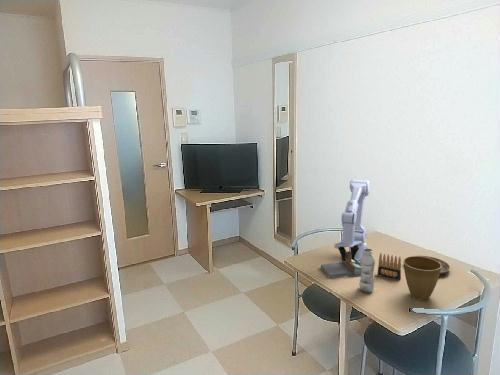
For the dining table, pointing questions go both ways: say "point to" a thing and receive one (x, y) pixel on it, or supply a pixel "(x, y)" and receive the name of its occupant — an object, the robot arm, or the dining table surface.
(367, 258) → the plastic bottle
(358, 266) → the pale mint cube
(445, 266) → the plant saucer
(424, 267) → the plant pot
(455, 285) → the dining table surface
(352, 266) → the walnut mallet
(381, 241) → the dining table surface
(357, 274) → the tray
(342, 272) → the charcoal board
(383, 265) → the ammunition clip
